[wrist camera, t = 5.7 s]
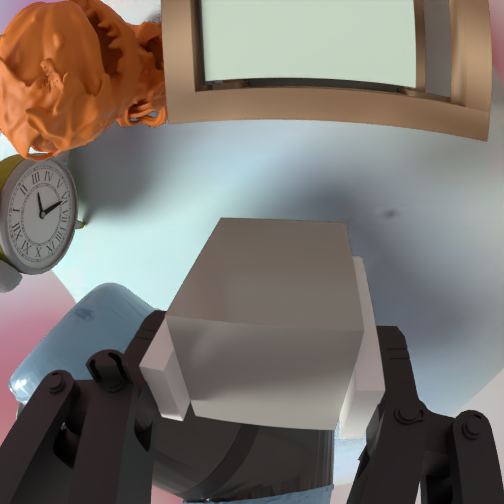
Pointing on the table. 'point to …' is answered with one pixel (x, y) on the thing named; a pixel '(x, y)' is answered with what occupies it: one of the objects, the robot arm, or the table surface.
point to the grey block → (269, 323)
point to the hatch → (308, 40)
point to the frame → (337, 98)
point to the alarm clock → (35, 215)
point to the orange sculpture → (77, 75)
